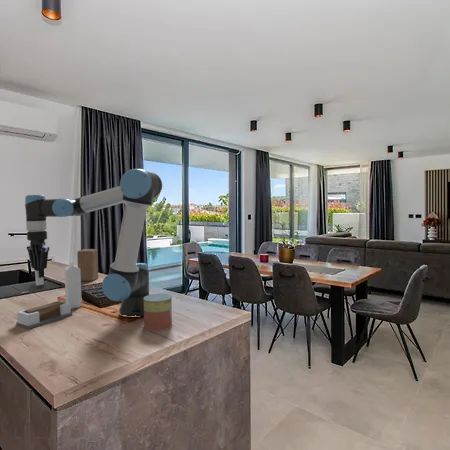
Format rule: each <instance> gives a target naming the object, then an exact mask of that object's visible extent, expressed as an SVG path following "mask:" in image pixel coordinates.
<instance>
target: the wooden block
mask: <svg viewBox="0 0 450 450" xmlns="http://www.w3.org/2000/svg"><path fill="white" fill-rule="evenodd" d="M76 255H77V267H78V268H80V272H81V282H94V281H95V280H97V279H98V278H99V259H98V258H99V256H98V249H97V248H95V249H94V248H83V249H81V250H77V253H76Z"/></svg>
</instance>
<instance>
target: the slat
mask: <svg viewBox="0 0 450 450" xmlns="http://www.w3.org/2000/svg"><path fill="white" fill-rule="evenodd" d="M56 301H57V302H56ZM56 301H53V302H54V303H52V302H50V303H47V304H43V305H40V306H36V307H33V308H29V309H28V310H27V309H24V310H25V313H28V314H30V313H34V312H39V321H40V320H43V319H46V318H50V317H53V316H56V315H59V314H60V305H62V304H63V302H59V301H60V300H56Z"/></svg>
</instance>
